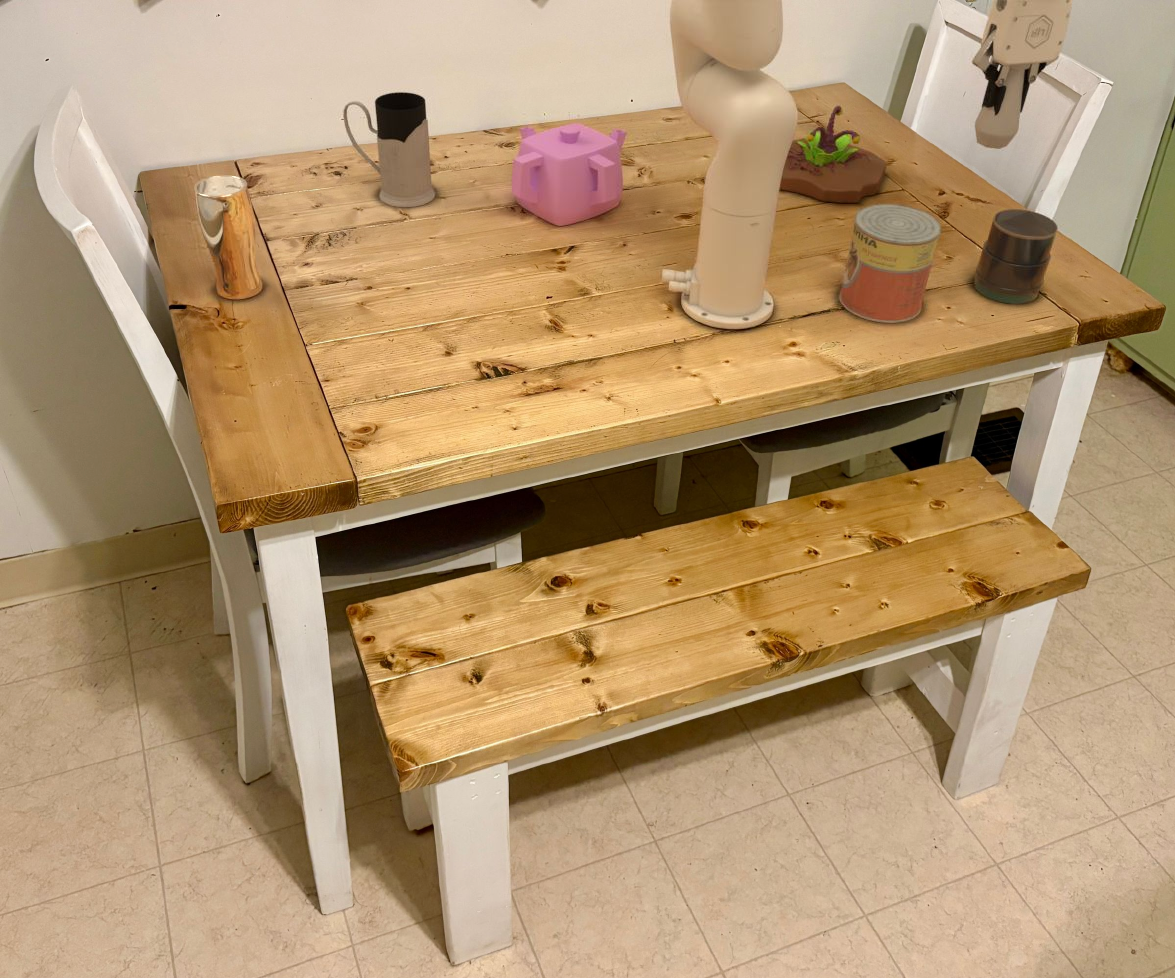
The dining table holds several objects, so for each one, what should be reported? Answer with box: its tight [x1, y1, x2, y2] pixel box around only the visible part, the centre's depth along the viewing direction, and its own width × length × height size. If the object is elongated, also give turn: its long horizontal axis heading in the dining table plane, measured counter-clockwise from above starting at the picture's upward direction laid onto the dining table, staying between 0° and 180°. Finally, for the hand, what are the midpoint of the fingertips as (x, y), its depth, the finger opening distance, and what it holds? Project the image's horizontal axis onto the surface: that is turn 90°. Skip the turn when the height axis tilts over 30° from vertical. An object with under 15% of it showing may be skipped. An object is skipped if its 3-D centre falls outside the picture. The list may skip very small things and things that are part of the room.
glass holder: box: [342, 91, 436, 208], centre depth 174 cm, size 9×14×15 cm, turn 71°
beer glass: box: [193, 174, 264, 301], centre depth 149 cm, size 7×7×15 cm
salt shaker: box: [974, 64, 1031, 150], centre depth 153 cm, size 6×6×13 cm
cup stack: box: [973, 208, 1058, 305], centre depth 158 cm, size 9×9×10 cm
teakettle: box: [510, 122, 628, 227], centre depth 173 cm, size 17×17×12 cm
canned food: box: [838, 203, 942, 324], centre depth 153 cm, size 11×11×12 cm
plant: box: [779, 105, 887, 204], centre depth 185 cm, size 20×20×11 cm
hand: (1001, 109), depth 154 cm, fingers closed on salt shaker, 3 cm apart
